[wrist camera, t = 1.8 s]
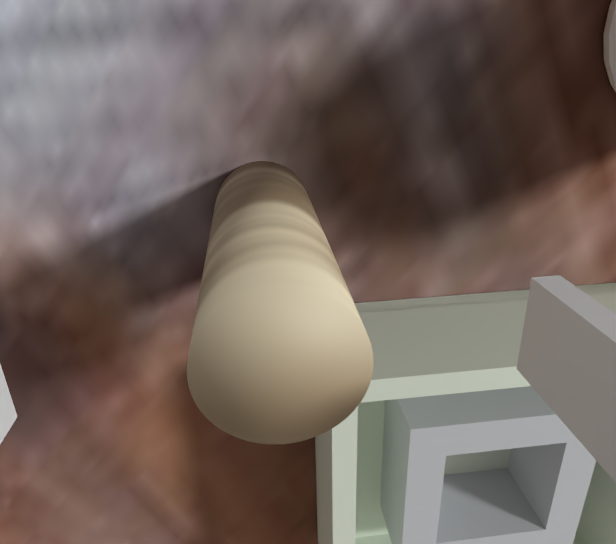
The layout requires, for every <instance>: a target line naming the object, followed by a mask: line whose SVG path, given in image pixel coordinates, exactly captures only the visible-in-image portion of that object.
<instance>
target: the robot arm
mask: <svg viewBox="0 0 616 544" xmlns="http://www.w3.org/2000/svg"><path fill="white" fill-rule="evenodd" d="M517 370H518V371H519V372H520V373H521V375H522V376H523V377H524V378H525V379H526V380H527V381H528V383H529V384H530V385H531V386H532V387H533V388H534V390H535V391H536V392H537V393H538V394H539V395H540V396H541V398H542V399H543V400H544V401H545V402H546V403H547V404H548V406H549V407H550V408H551V409H552V410H553V411H554V412H555V414H556V415H557V416H558V417H559V418H560V419H561V420H562V422H563V423H564V424H565V425H566V426H567V427H568V429H569V430H570V431H571V432H572V433H573V434H574V435H575V437H576V438H577V439H578V440H579V441H580V442H581V443H582V445H583V446H584V447H585V448H586V449H587V450H588V451H589V453H590V454H591V455H592V456H593V457H594V458H595V460H596V461H597V462H598V463H599V464H600V465H601V466H602V468H603V469H604V470H605V471H606V472H607V473H608V474H609V476H610V477H611V478H612V479H613V480H614V481H615V482H616V314H615V313H613V312H612V311H610V310H609V309H607V308H606V307H604V306H603V305H602V304H600V303H599V302H597V301H596V300H594V299H593V298H592V297H590V296H589V295H587V294H586V293H584V292H583V291H581V290H580V289H579V288H577V287H576V286H574V285H573V284H571V283H570V282H569V281H567V280H566V279H564V278H563V277H561V276H560V275H559V276H547V277H534V278H531V283H530V289H529V295H528V302H527V308H526V314H525V320H524V326H523V332H522V338H521V344H520V350H519V356H518V363H517ZM16 418H17V414H16V411H15V408H14V405H13V401H12V398H11V395H10V392H9V389H8V386H7V383H6V380H5V377H4V374H3V370H2V367H1V364H0V444H1V442H2V441H3V439H4V438H5V436H6V434H7V433H8V431H9V430H10V428H11V426H12V425H13V423H14V421H15V420H16Z"/></svg>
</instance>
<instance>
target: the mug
mask: <svg viewBox="0 0 616 544" xmlns="http://www.w3.org/2000/svg"><path fill="white" fill-rule="evenodd" d="M603 42H604V63H605V67H606V70H607V74H608V77H609V81H610V84H611V86H612V87H613V89H614V91H615V92H616V0H612V1H611V3H610V6H609V10H608V15H607V20H606V24H605V29H604V34H603Z"/></svg>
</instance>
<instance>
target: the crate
mask: <svg viewBox="0 0 616 544" xmlns="http://www.w3.org/2000/svg"><path fill="white" fill-rule="evenodd" d="M576 287H577V288H579V289H580V290H581V291H583V292H584V293H586V294H587V295H589V296H590V297H592V298H593V299H594V300H596V301H597V302H599V303H600V304H602V305H603V306H604V307H606V308H607V309H609V310H610V311H612V312H613V313H615V314H616V283H604V284H592V285H579V286H576ZM528 295H529V289H528V290H516V291H503V292H490V293H478V294H465V295H452V296H440V297H427V298H415V299H402V300H389V301H377V302H364V303H354V304H355V306H356V309H357V311H358V313H359V316H360V318H361V320H362V323H363V325H364V327H365V330H366V332H367V334H368V337H369V340H370V342H371V346H372V351H373V361H374V365H373V374H372V378H371V382H370V385H369V387H368V390H367V392H366V394H365V396H364V397H363V399H362V401H361V402H360V404H359V405H358V406H357V407H356V409H355V410H354V411H353V412H352V413H351V414H350V415H349V416H348V417H347V418H346V419H345V420H343V421H342V422H341V423H340V424H338V425H337V426H335V427H334V428H332V429H331V430H329V431H327V432H325V433H323V434H321V435H319V436H316V437H315V457H316V495H317V533H318V544H616V482H615V481H614V480H613V479H612V478H611V477H610V476H609V474H608V473H607V472H606V471H605V470H604V469H603V468H602V466H601V465H600V464H599V463H598V462H597V461H596V460H595V458H594V457H593V456H592V455H591V454H590V453H589V451H588V450H587V449H586V448H585V447H584V446H583V445H582V443H581V442H580V441H579V440H578V439H577V438H576V437H575V435H574V434H573V433H572V432H571V431H570V430H569V429H568V427H567V426H566V425H565V424H564V423H563V422H562V420H561V419H560V418H559V417H558V416H557V415H556V414H555V412H554V411H553V410H552V409H551V408H550V407H549V406H548V404H547V403H546V402H545V401H544V400H543V399H542V398H541V396H540V395H539V394H538V393H537V392H536V391H535V390H534V388H533V387H532V386H531V385H530V384H529V383H528V381H527V380H526V379H525V378H524V377H523V376H522V375H521V373H520V372H519V371H518V370H517V363H518V356H519V350H520V344H521V338H522V332H523V326H524V320H525V314H526V308H527V302H528Z"/></svg>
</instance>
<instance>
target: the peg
mask: <svg viewBox="0 0 616 544" xmlns="http://www.w3.org/2000/svg"><path fill="white" fill-rule="evenodd" d="M373 365H374V361H373V351H372V346H371V342H370V340H369V337H368V334H367V332H366V330H365V327H364V325H363V323H362V320H361V318H360V316H359V313H358V311H357V309H356V306H355V304H354V302H353V299H352V297H351V295H350V292H349V290H348V288H347V285H346V283H345V281H344V278H343V276H342V274H341V271H340V269H339V267H338V264H337V262H336V260H335V257H334V255H333V253H332V250H331V248H330V246H329V243H328V241H327V239H326V236H325V234H324V232H323V229H322V227H321V225H320V222H319V220H318V218H317V215H316V213H315V210H314V208H313V206H312V203H311V201H310V199H309V196H308V194H307V192H306V189H305V187H304V185H303V184H302V182H301V181H300V179H299V178H298V177H297V176H296V175H295V174H294V173H293V172H292V171H290V170H289V169H288V168H286V167H284V166H282V165H280V164H277V163H273V162H267V161H257V162H251V163H247V164H245V165H242V166H240V167H238V168H237V169H235V170H234V171H232V172H231V173H230V174H229V175H228V176H227V177H226V178H225V180H224V181H223V182H222V184H221V186H220V188H219V190H218V193H217V197H216V202H215V208H214V213H213V219H212V225H211V230H210V236H209V242H208V247H207V253H206V259H205V264H204V270H203V276H202V281H201V287H200V293H199V298H198V304H197V310H196V315H195V321H194V327H193V332H192V338H191V344H190V349H189V355H188V361H187V381H188V386H189V390H190V393H191V395H192V398H193V400H194V402H195V404H196V405H197V407H198V409H199V410H200V411H201V412H202V414H203V415H204V416H205V417H206V418H207V419H208V420H209V421H210V422H211V423H212V424H213V425H215V426H216V427H218V428H219V429H221V430H222V431H224V432H226V433H228V434H230V435H231V436H234V437H237V438H239V439H242V440H245V441H249V442H253V443H260V444H273V445H277V444H289V443H296V442H300V441H304V440H308V439H311V438H314V437H316V436H319V435H321V434H323V433H325V432H327V431H329V430H331V429H332V428H334V427H335V426H337V425H338V424H340V423H341V422H342V421H343V420H345V419H346V418H347V417H348V416H349V415H350V414H351V413H352V412H353V411H354V410H355V409H356V407H357V406H358V405H359V404H360V402H361V401H362V399H363V397H364V396H365V394H366V392H367V390H368V387H369V385H370V382H371V378H372V374H373Z"/></svg>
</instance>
